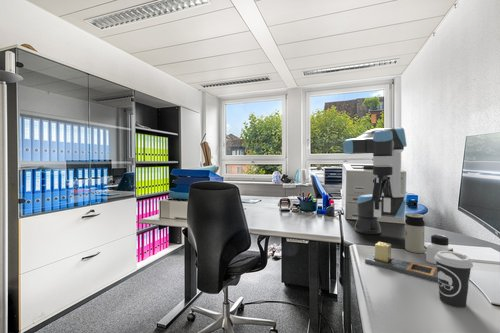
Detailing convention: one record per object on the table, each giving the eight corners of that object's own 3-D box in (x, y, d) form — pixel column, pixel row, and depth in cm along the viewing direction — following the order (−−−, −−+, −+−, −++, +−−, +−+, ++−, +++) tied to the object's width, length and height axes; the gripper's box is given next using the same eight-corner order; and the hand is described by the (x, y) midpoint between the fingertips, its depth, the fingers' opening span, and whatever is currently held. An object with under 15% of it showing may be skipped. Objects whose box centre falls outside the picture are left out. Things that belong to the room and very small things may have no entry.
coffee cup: (476, 314, 72) (476, 263, 72) (435, 304, 77) (435, 257, 77) (468, 298, 80) (469, 253, 80) (432, 290, 85) (432, 248, 85)
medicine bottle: (444, 267, 103) (444, 239, 103) (426, 261, 110) (426, 234, 109) (453, 264, 107) (453, 236, 106) (434, 258, 113) (434, 232, 113)
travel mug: (425, 250, 123) (425, 214, 123) (422, 254, 117) (423, 217, 117) (407, 246, 129) (407, 212, 128) (403, 250, 123) (403, 215, 122)
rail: (371, 256, 116) (371, 252, 116) (441, 273, 98) (441, 269, 98) (365, 262, 109) (365, 258, 109) (438, 282, 91) (438, 277, 91)
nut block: (378, 260, 112) (378, 241, 112) (390, 263, 108) (391, 244, 108) (375, 263, 108) (375, 244, 108) (387, 266, 105) (387, 247, 105)
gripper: (382, 165, 119) (381, 209, 119) (363, 166, 101) (363, 218, 102) (399, 165, 114) (399, 211, 114) (383, 166, 96) (383, 220, 96)
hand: (382, 214), depth 108 cm, fingers open, 13 cm apart
